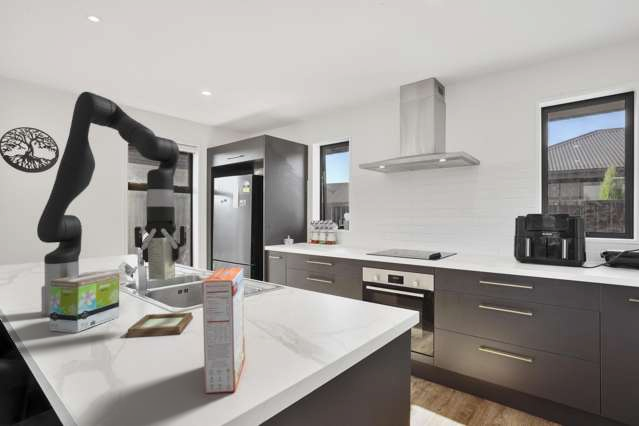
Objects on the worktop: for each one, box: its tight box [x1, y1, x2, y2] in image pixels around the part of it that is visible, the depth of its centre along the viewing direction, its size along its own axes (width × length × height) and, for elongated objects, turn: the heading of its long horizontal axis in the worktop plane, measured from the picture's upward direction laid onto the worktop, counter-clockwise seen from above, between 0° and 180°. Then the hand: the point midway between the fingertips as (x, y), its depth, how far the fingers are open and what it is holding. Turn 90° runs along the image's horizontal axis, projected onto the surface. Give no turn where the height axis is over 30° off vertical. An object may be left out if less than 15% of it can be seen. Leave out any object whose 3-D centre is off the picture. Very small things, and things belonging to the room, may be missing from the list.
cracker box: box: [201, 267, 246, 394], centre depth 68 cm, size 14×6×21 cm, turn 5°
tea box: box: [49, 271, 120, 334], centre depth 101 cm, size 15×10×15 cm
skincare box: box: [147, 237, 176, 281], centre depth 97 cm, size 6×4×12 cm
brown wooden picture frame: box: [125, 311, 194, 338], centre depth 97 cm, size 14×14×2 cm
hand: (161, 261), depth 97 cm, fingers closed on skincare box, 7 cm apart
